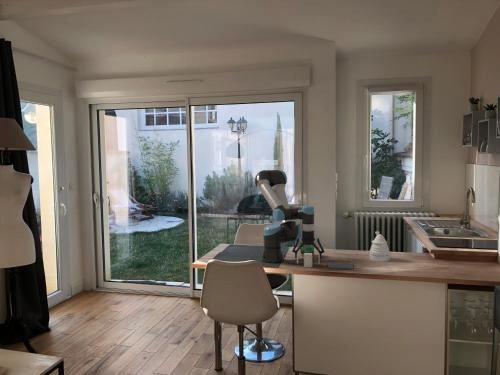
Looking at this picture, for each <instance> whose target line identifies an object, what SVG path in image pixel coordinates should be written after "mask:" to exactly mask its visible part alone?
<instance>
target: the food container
mask: <svg viewBox="0 0 500 375" xmlns="http://www.w3.org/2000/svg"><path fill="white" fill-rule="evenodd" d="M302 243H303V241H302V242H301V241H299V243H298V245H299V246H300V245H301V244H302ZM314 243H315V245H316V240H315V241H314ZM316 246H317V245H316ZM299 251H300V256H301V257H303V258H304V253H312V257H314V255H315V247H314V246H313V245H305V244H304V245H303V246H302V247H301V249H300V250H299Z"/></svg>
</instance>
